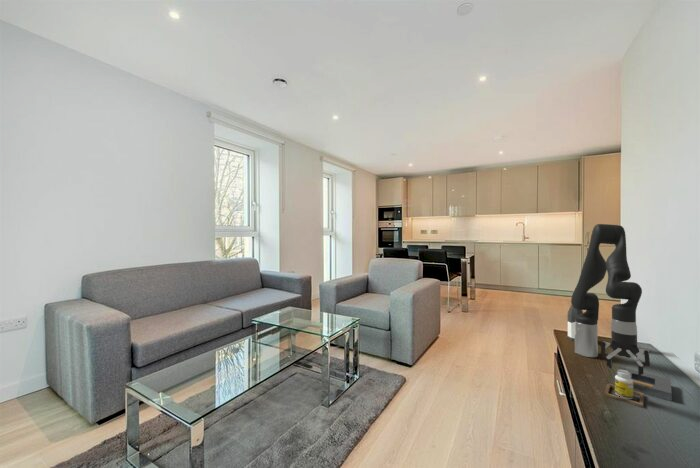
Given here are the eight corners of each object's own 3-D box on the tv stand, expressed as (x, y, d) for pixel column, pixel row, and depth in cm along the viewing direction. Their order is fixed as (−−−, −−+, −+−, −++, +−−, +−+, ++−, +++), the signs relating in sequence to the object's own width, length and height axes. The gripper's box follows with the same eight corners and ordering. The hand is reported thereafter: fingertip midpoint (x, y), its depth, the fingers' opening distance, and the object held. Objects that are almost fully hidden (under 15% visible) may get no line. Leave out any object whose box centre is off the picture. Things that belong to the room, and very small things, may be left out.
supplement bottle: (611, 392, 118) (611, 369, 118) (623, 391, 119) (623, 368, 118) (624, 400, 113) (624, 375, 113) (637, 399, 113) (637, 374, 113)
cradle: (604, 395, 116) (604, 393, 116) (607, 385, 123) (607, 383, 123) (642, 407, 108) (642, 404, 108) (643, 395, 115) (643, 393, 115)
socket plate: (615, 385, 123) (615, 378, 123) (619, 372, 134) (619, 365, 134) (671, 401, 111) (671, 393, 111) (670, 385, 122) (670, 378, 122)
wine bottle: (581, 338, 177) (581, 289, 177) (586, 342, 170) (585, 292, 170) (566, 336, 181) (565, 289, 180) (569, 340, 173) (569, 291, 173)
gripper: (649, 333, 113) (650, 374, 113) (601, 325, 123) (602, 362, 123) (649, 337, 108) (650, 380, 107) (599, 329, 118) (600, 368, 118)
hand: (624, 371), depth 115 cm, fingers open, 8 cm apart
